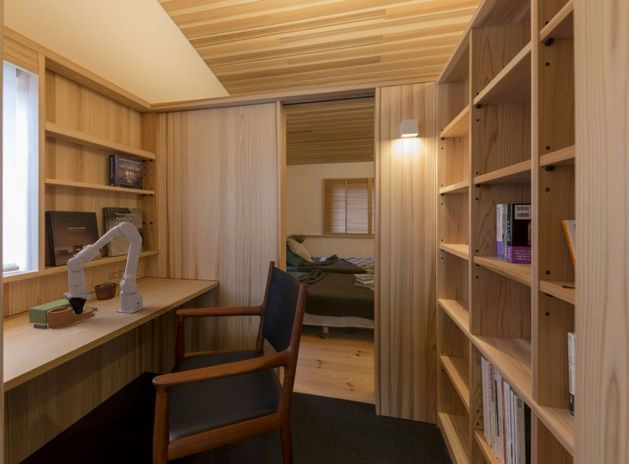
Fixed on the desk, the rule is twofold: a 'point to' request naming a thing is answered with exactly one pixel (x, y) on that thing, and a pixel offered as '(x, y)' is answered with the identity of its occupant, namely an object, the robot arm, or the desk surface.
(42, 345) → the desk surface
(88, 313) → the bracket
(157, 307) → the desk surface
